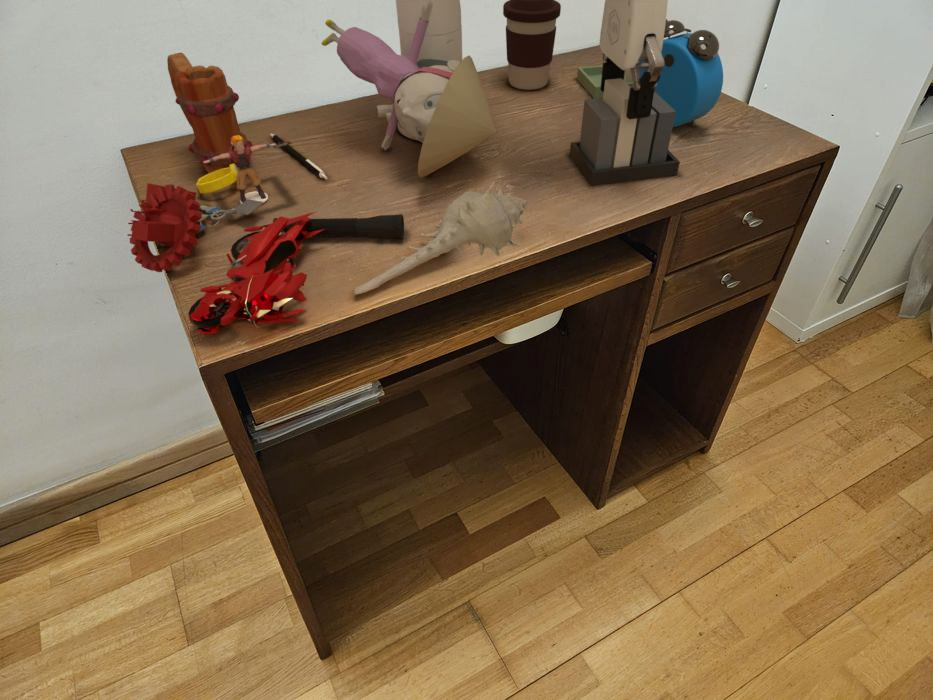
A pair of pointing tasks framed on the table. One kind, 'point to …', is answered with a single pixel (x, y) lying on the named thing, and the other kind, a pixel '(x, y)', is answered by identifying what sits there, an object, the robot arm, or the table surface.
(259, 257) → the toy motorcycle
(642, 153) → the grey books
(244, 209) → the key chain
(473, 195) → the seashell
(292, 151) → the pen
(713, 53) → the alarm clock
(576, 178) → the table surface
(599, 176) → the grey tray
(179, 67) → the mug
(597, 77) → the green tray
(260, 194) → the action figure
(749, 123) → the table surface
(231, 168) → the yellow curved hollow piece
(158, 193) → the red toothed ring
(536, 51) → the coffee cup
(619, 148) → the white box
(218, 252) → the table surface
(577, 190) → the table surface
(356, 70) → the figurine
